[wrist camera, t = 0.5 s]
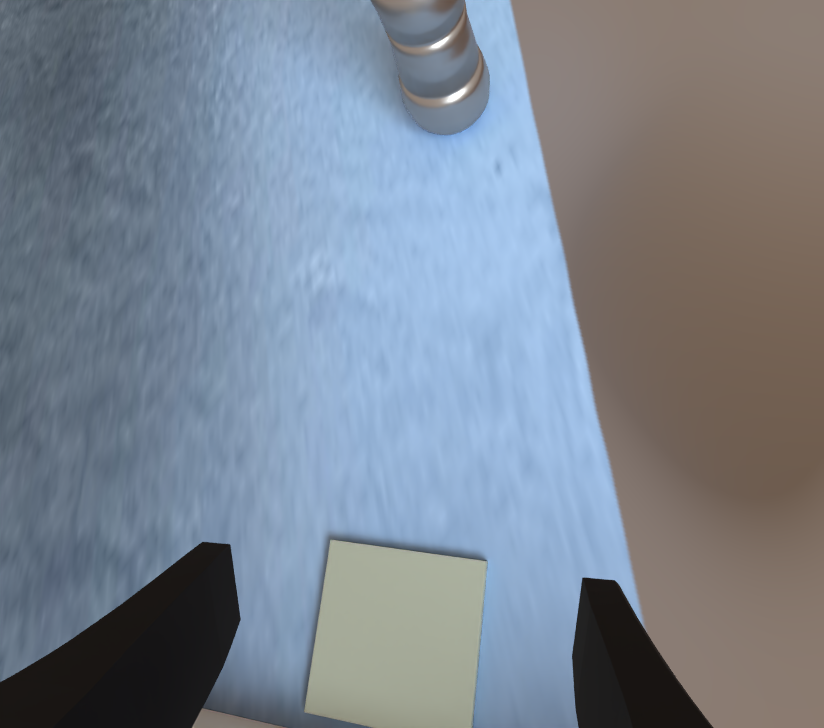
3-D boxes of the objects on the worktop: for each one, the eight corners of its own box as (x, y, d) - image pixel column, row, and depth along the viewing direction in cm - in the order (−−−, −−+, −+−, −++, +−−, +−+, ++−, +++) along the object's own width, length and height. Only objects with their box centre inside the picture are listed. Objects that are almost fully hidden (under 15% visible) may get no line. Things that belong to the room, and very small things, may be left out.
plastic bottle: (413, 155, 48) (306, -99, 29) (408, 82, 50) (304, -198, 31) (499, 136, 46) (443, -142, 28) (489, 62, 49) (431, -243, 30)
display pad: (470, 745, 36) (469, 748, 35) (308, 709, 38) (304, 712, 38) (487, 561, 38) (486, 561, 38) (334, 539, 41) (330, 539, 40)
